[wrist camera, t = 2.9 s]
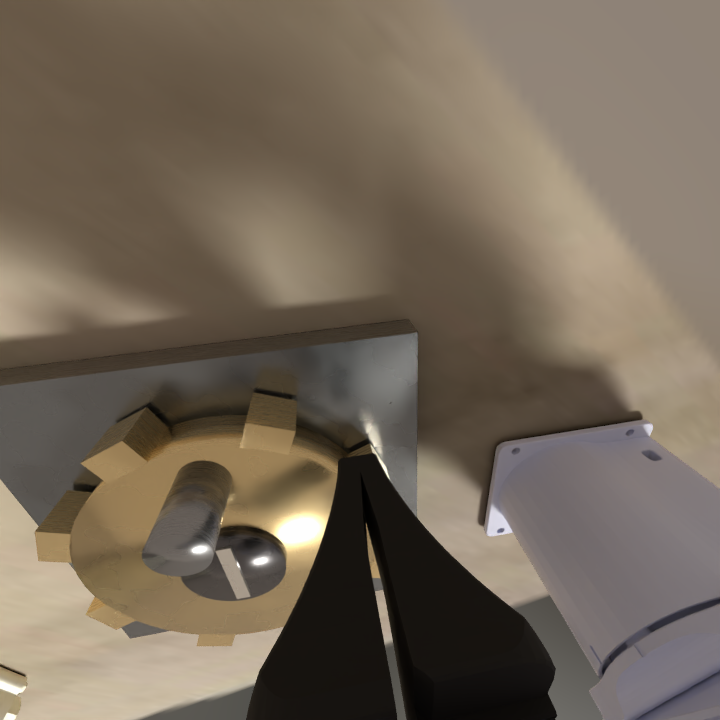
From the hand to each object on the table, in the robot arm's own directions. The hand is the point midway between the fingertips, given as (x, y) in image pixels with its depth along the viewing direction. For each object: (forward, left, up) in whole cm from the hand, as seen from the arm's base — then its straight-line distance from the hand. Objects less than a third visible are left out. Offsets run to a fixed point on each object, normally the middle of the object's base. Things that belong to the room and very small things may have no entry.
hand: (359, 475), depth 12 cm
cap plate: (+6, +5, -5) cm, 9 cm away
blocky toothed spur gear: (+6, +5, -3) cm, 8 cm away
